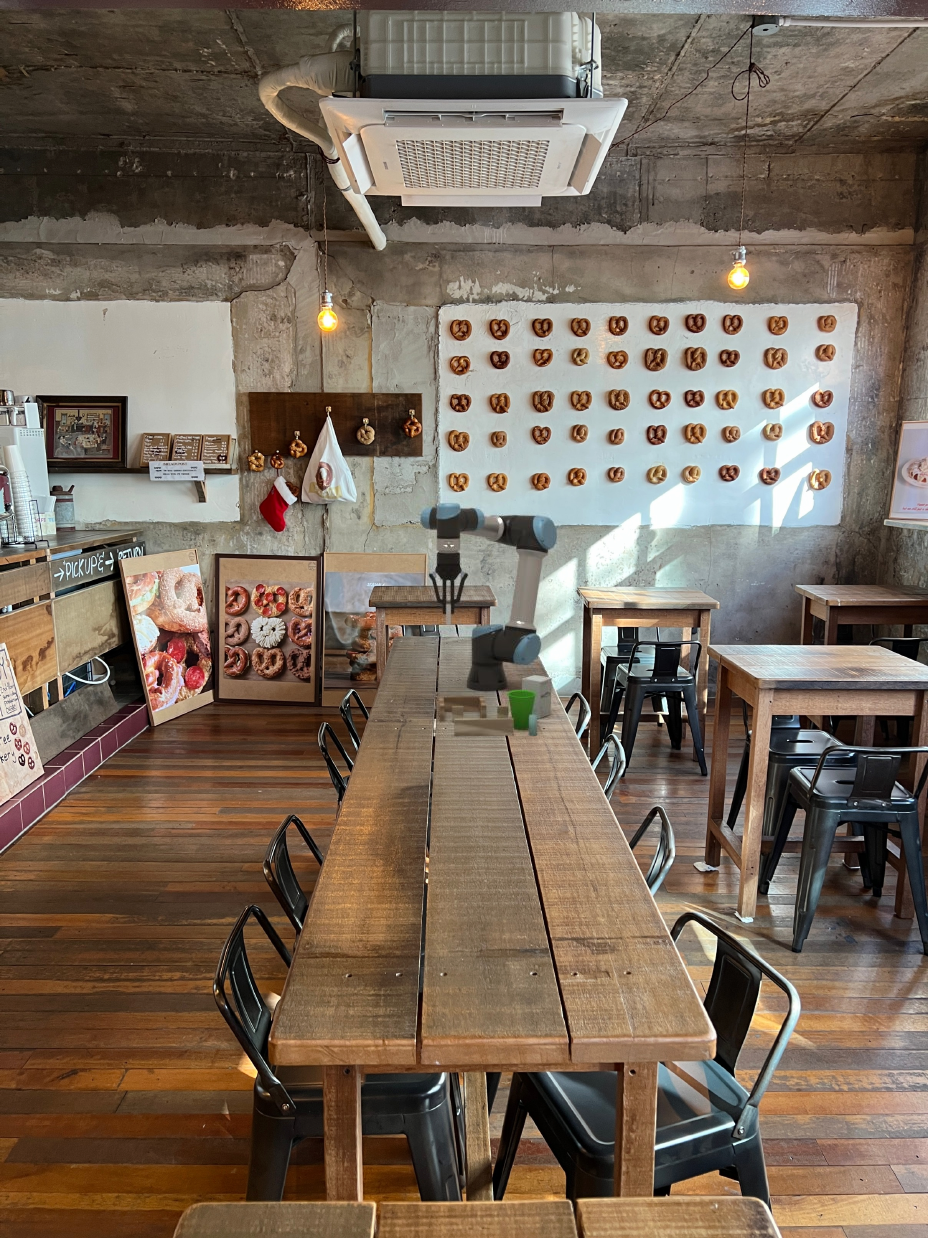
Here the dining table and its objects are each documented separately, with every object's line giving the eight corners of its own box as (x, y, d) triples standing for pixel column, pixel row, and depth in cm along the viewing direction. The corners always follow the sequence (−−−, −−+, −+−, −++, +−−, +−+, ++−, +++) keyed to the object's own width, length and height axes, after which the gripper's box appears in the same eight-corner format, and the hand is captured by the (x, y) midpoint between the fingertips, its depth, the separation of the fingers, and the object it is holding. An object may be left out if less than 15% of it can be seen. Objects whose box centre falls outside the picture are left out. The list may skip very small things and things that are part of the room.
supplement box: (539, 719, 283) (540, 681, 281) (520, 715, 287) (521, 678, 285) (551, 714, 288) (552, 677, 286) (532, 710, 293) (533, 674, 291)
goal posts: (522, 719, 282) (522, 701, 281) (529, 719, 282) (530, 701, 281) (529, 735, 265) (529, 716, 264) (537, 735, 265) (537, 716, 264)
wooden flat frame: (438, 710, 292) (438, 696, 292) (504, 710, 294) (504, 695, 293) (441, 736, 264) (441, 720, 264) (513, 735, 266) (513, 719, 265)
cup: (535, 732, 269) (536, 697, 267) (506, 731, 270) (506, 696, 268) (536, 723, 278) (536, 690, 276) (507, 722, 279) (507, 689, 277)
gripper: (428, 552, 275) (428, 626, 279) (469, 552, 276) (469, 626, 280) (427, 550, 282) (428, 622, 286) (467, 550, 283) (467, 622, 287)
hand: (448, 624), depth 283 cm, fingers closed
